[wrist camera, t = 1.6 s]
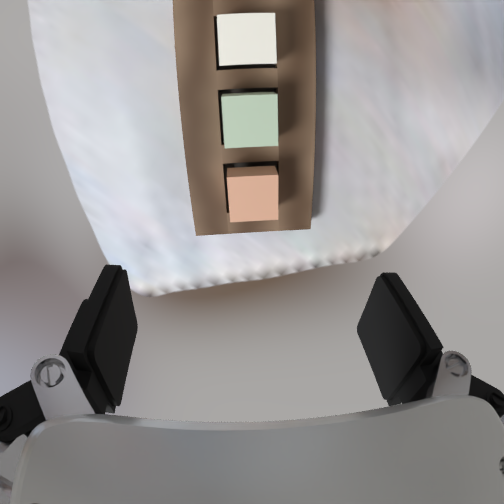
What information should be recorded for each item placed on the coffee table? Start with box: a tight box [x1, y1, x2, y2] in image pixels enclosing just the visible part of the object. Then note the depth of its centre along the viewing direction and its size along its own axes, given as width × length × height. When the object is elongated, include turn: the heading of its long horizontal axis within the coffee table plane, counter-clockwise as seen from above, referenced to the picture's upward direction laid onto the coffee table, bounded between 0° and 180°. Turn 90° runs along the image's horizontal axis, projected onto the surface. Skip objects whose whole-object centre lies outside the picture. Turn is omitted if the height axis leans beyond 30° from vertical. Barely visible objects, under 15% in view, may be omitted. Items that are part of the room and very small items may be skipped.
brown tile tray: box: [173, 0, 316, 236], centre depth 26 cm, size 12×24×2 cm, turn 2°
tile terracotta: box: [227, 166, 278, 222], centre depth 28 cm, size 4×4×2 cm
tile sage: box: [221, 92, 278, 148], centre depth 24 cm, size 4×4×2 cm
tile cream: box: [217, 13, 277, 66], centre depth 20 cm, size 4×4×2 cm
